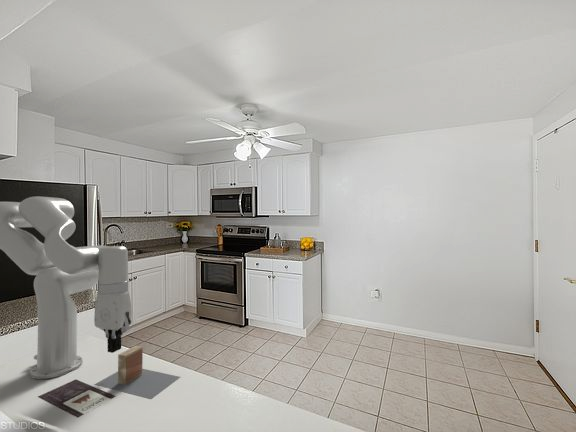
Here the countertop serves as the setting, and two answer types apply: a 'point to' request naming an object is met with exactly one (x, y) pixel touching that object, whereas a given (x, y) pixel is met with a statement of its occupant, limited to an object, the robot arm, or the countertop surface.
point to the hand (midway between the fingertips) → (114, 350)
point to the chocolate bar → (76, 397)
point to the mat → (141, 383)
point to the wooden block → (130, 364)
